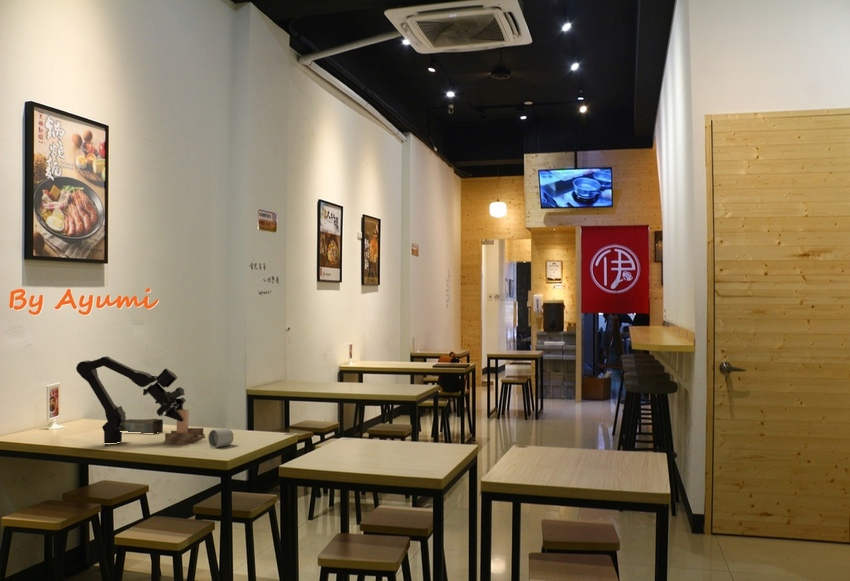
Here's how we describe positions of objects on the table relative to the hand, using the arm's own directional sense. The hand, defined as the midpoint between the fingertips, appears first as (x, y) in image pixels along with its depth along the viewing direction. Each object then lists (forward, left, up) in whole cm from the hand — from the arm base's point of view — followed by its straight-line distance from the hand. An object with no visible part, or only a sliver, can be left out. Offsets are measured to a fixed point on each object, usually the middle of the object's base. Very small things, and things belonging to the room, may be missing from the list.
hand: (184, 420), depth 305 cm
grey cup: (+14, -17, -10) cm, 24 cm away
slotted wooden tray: (0, +3, -9) cm, 10 cm away
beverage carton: (-20, +32, -10) cm, 39 cm away
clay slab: (-1, 0, -8) cm, 8 cm away
